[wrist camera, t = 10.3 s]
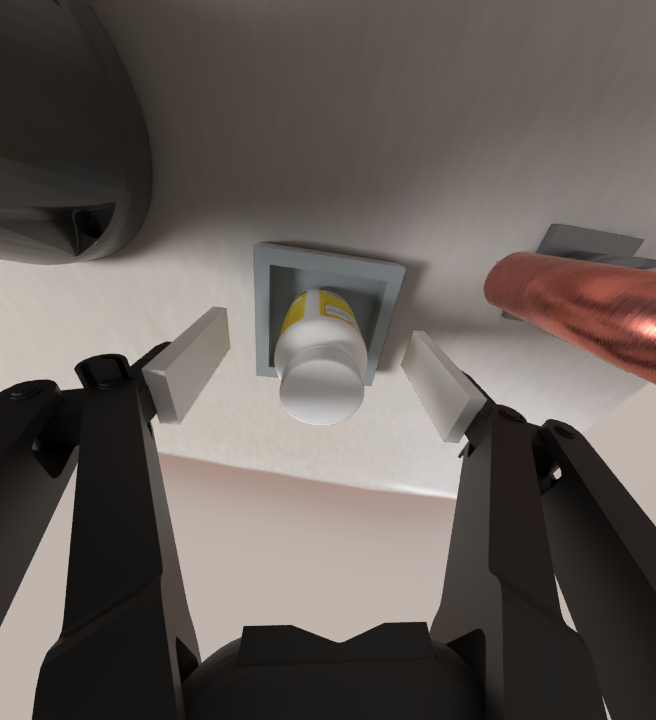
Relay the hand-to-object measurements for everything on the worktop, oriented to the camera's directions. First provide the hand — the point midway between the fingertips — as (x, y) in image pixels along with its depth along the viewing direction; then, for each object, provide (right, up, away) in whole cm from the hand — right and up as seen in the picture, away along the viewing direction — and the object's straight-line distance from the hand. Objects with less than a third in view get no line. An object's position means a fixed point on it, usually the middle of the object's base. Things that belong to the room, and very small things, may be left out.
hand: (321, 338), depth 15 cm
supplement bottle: (0, +2, +4) cm, 5 cm away
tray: (0, +2, +5) cm, 5 cm away
